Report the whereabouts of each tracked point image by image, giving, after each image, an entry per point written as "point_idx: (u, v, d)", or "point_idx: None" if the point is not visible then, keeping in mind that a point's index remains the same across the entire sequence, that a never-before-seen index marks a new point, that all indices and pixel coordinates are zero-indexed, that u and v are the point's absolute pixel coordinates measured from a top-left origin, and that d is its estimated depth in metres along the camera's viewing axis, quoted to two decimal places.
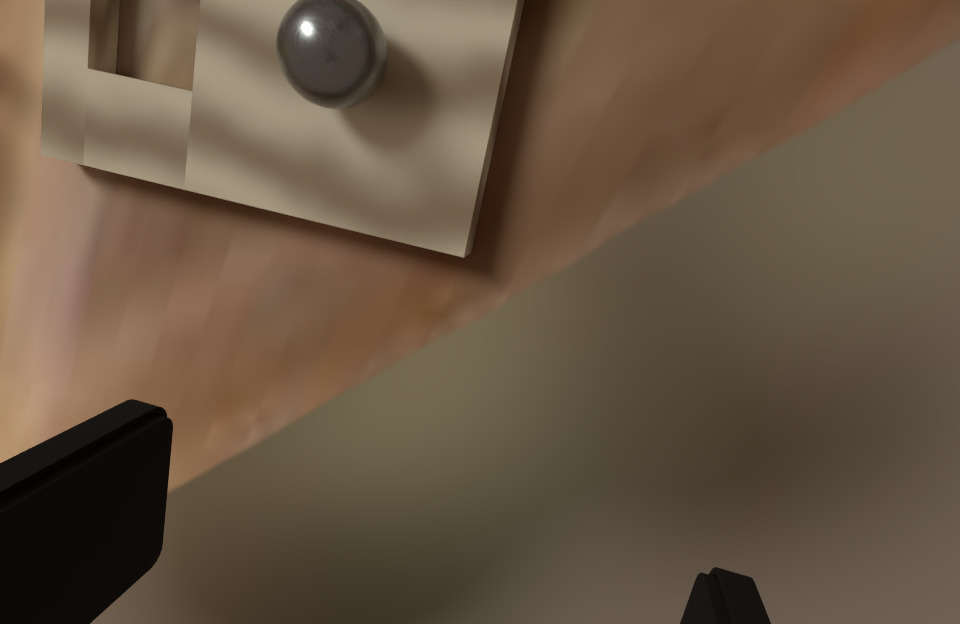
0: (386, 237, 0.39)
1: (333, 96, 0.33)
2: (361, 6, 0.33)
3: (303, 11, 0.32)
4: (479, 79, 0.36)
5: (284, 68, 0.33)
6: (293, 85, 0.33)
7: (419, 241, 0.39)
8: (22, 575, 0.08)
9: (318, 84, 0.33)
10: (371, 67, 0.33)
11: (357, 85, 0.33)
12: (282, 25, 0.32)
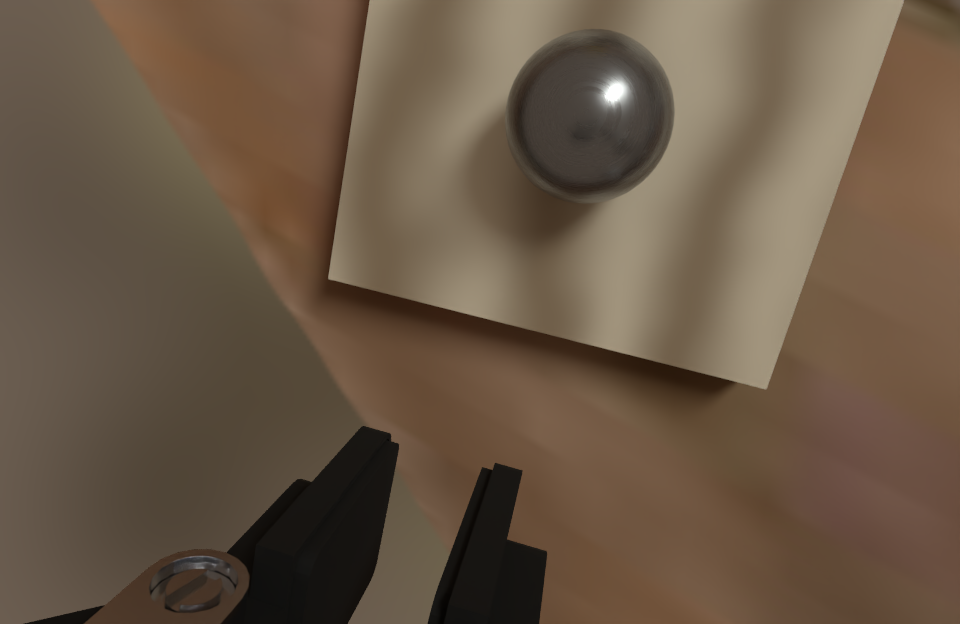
0: (346, 168, 0.27)
1: (513, 133, 0.21)
2: (645, 177, 0.22)
3: (636, 98, 0.20)
4: (554, 308, 0.27)
5: (556, 54, 0.20)
6: (532, 63, 0.21)
7: (344, 217, 0.28)
8: (326, 593, 0.09)
9: (527, 116, 0.21)
10: (555, 193, 0.22)
11: (529, 171, 0.22)
12: (621, 54, 0.20)
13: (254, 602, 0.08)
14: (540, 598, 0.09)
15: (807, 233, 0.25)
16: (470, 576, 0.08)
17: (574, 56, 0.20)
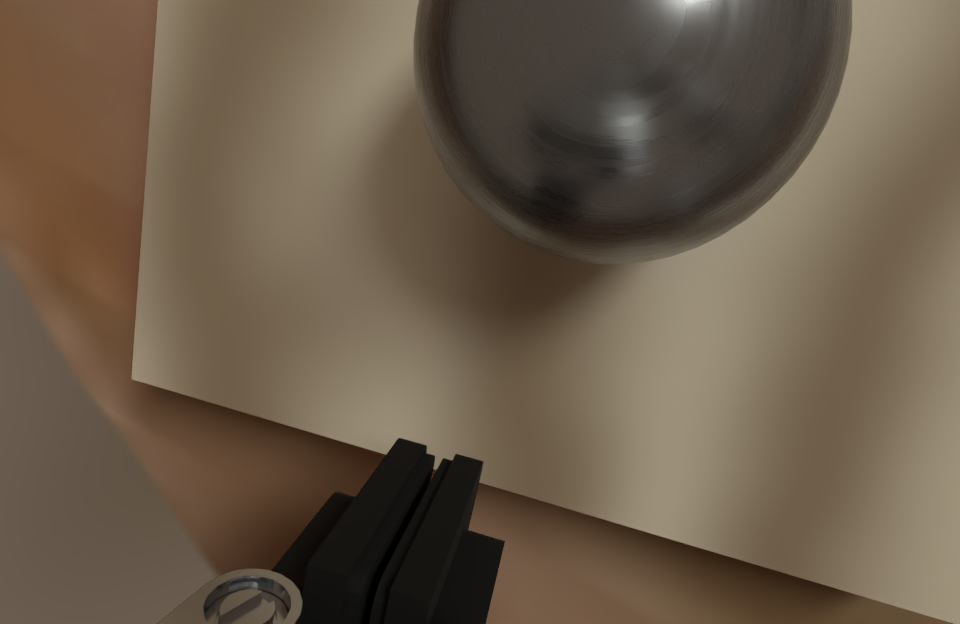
0: (149, 177, 0.14)
1: (425, 90, 0.08)
2: (765, 203, 0.08)
3: None
4: (544, 450, 0.14)
5: None
6: None
7: (151, 269, 0.15)
8: (372, 611, 0.09)
9: (451, 37, 0.07)
10: (536, 242, 0.09)
11: (470, 189, 0.09)
12: None
13: (304, 622, 0.08)
14: (492, 586, 0.09)
15: None
16: (416, 563, 0.08)
17: None
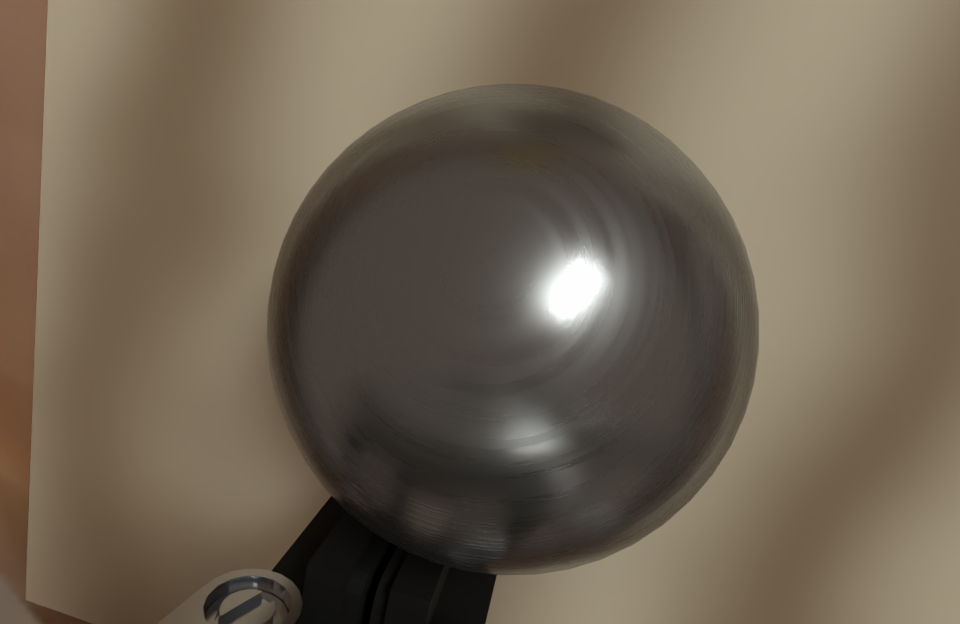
0: (36, 407, 0.14)
1: (270, 335, 0.07)
2: (682, 507, 0.07)
3: (666, 236, 0.06)
4: None
5: (409, 111, 0.07)
6: (349, 146, 0.07)
7: (42, 496, 0.14)
8: (372, 611, 0.09)
9: (298, 275, 0.06)
10: (391, 538, 0.07)
11: (310, 460, 0.07)
12: (607, 116, 0.06)
13: (304, 622, 0.08)
14: (492, 586, 0.09)
15: None
16: (416, 563, 0.08)
17: (462, 107, 0.06)
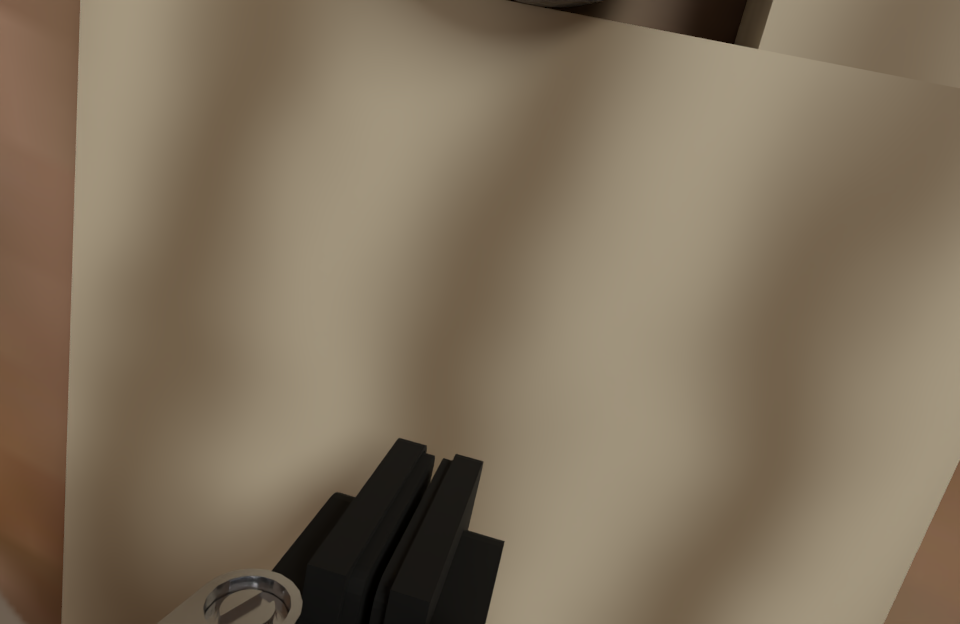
0: (68, 508, 0.16)
1: None
2: None
3: None
4: None
5: None
6: None
7: (73, 578, 0.17)
8: (372, 611, 0.09)
9: None
10: None
11: None
12: None
13: (304, 622, 0.08)
14: (492, 586, 0.09)
15: None
16: (416, 563, 0.08)
17: None
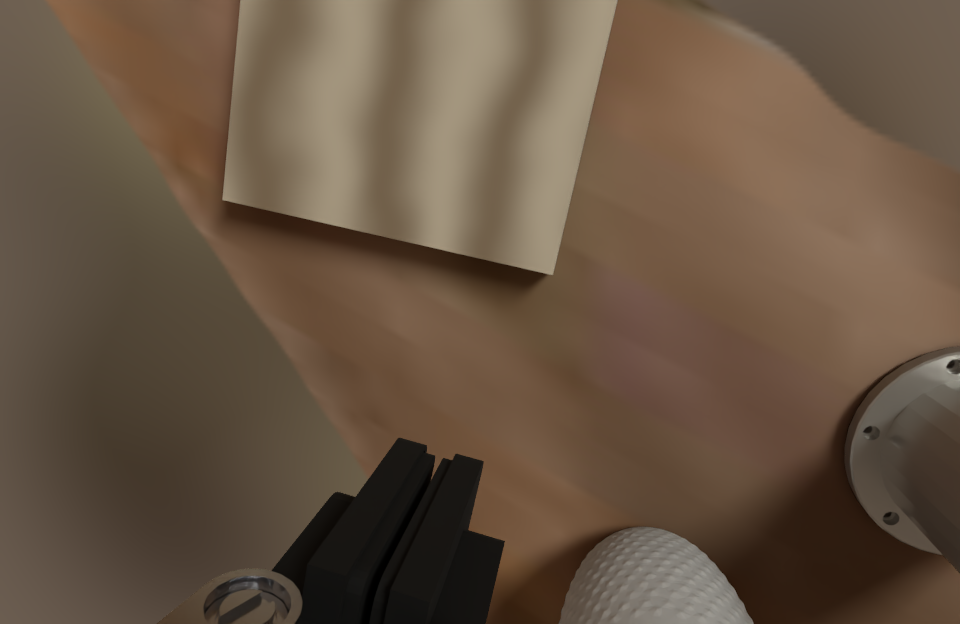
0: (232, 111, 0.35)
1: None
2: None
3: None
4: (393, 216, 0.35)
5: None
6: None
7: (232, 150, 0.36)
8: (372, 611, 0.09)
9: None
10: None
11: None
12: None
13: (304, 622, 0.08)
14: (492, 586, 0.09)
15: (571, 152, 0.33)
16: (416, 562, 0.08)
17: None
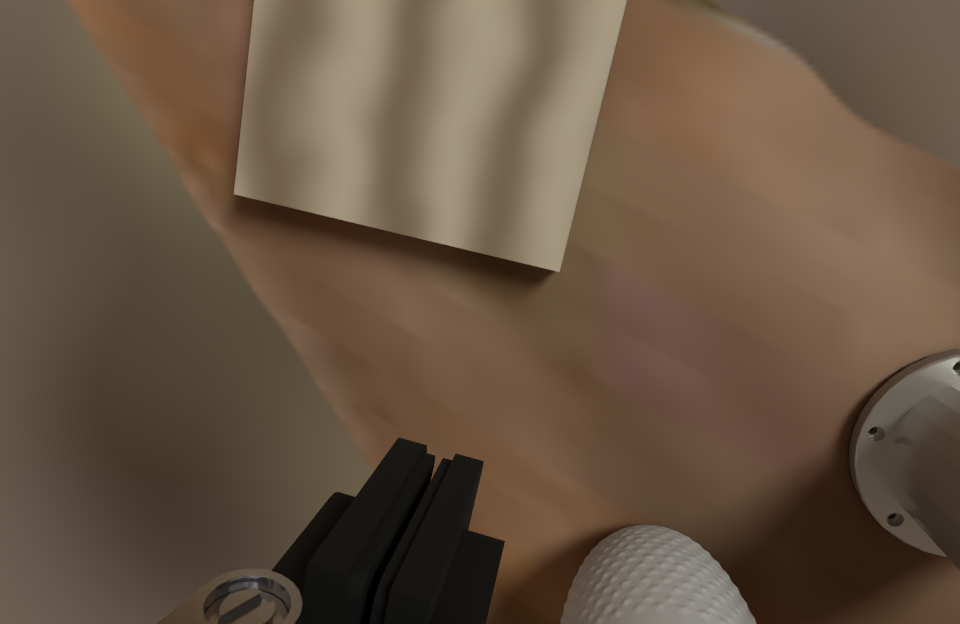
0: (244, 106, 0.36)
1: None
2: None
3: None
4: (402, 212, 0.36)
5: None
6: None
7: (244, 145, 0.36)
8: (372, 611, 0.09)
9: None
10: None
11: None
12: None
13: (304, 623, 0.08)
14: (492, 586, 0.09)
15: (579, 150, 0.33)
16: (416, 563, 0.08)
17: None
